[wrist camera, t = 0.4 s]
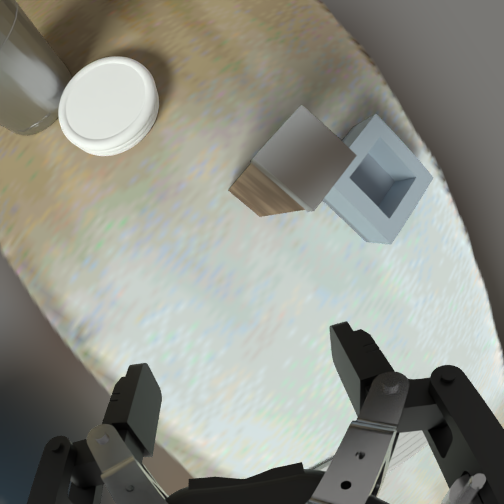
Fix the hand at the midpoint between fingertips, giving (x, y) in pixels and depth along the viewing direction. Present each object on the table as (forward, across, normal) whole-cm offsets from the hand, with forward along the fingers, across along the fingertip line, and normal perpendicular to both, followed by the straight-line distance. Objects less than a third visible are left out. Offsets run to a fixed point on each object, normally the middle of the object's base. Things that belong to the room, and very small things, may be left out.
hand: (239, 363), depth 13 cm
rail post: (+21, -4, -3) cm, 21 cm away
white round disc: (+22, +9, -15) cm, 28 cm away
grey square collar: (+22, -15, -2) cm, 26 cm away
